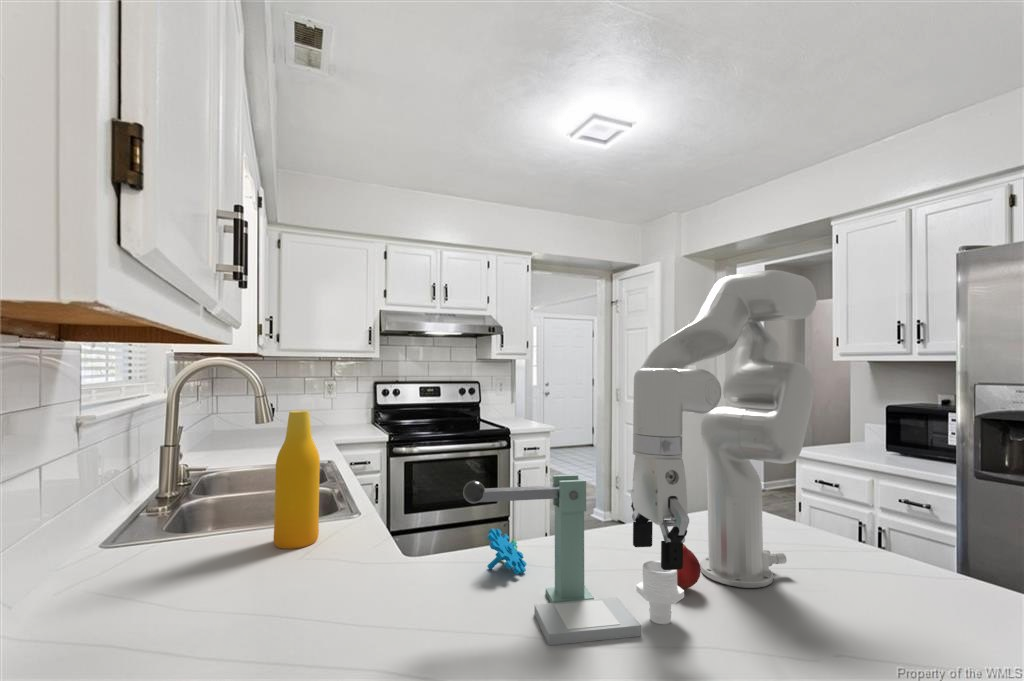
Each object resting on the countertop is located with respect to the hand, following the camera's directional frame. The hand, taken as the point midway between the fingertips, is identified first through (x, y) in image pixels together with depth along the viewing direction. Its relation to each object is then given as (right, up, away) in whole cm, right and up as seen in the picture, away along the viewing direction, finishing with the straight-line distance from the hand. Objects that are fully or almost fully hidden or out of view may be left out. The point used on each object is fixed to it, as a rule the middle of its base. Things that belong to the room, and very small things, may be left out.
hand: (656, 557), depth 78 cm
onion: (+8, -11, +11) cm, 17 cm away
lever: (-21, +7, +6) cm, 23 cm away
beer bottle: (-71, -11, +34) cm, 79 cm away
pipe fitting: (+1, -10, 0) cm, 10 cm away
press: (-12, -10, +1) cm, 15 cm away
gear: (-23, -11, +19) cm, 32 cm away
